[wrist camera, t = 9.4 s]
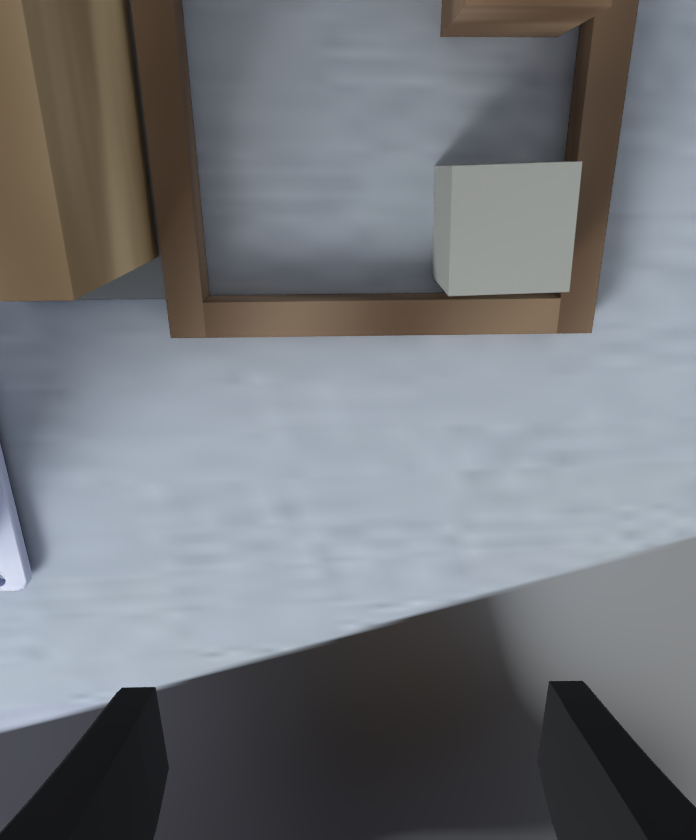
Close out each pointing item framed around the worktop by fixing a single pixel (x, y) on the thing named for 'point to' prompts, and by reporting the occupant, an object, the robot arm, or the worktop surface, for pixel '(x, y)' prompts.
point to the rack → (373, 313)
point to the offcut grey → (505, 227)
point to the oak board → (70, 150)
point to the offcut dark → (516, 17)
